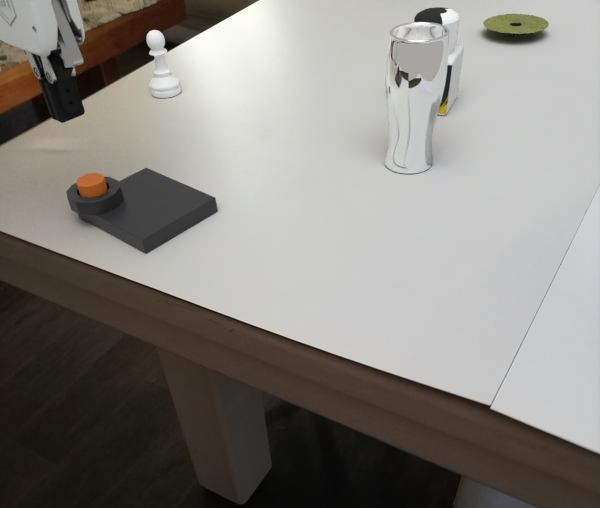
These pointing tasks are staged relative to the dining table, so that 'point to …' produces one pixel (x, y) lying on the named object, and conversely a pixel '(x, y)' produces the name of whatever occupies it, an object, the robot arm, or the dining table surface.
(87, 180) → the tare button
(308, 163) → the dining table surface
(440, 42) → the beer glass
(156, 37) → the chess pawn
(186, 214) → the dark grey button base
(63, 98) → the robot arm
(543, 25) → the green disc
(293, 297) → the dining table surface
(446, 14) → the medicine bottle
